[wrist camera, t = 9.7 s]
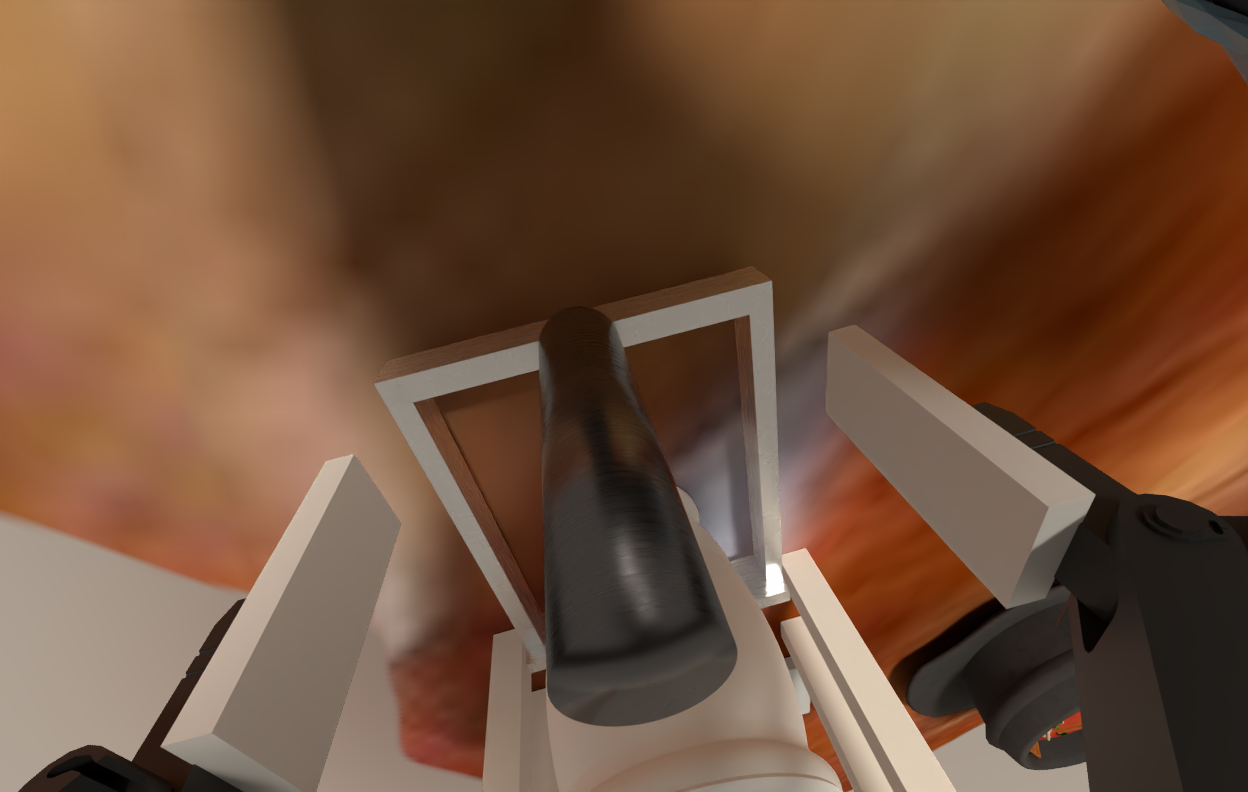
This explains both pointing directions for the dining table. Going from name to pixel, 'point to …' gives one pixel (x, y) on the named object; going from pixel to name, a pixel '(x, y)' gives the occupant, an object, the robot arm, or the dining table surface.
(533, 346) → the picture frame
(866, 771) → the open rectangular frame
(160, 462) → the dining table surface
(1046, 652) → the casserole
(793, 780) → the jar
